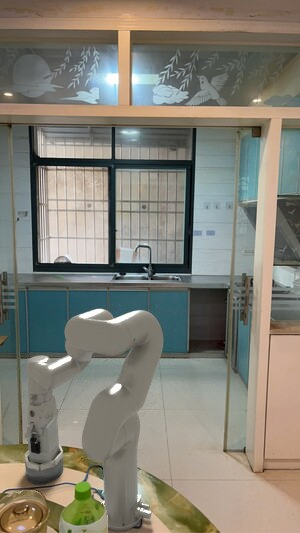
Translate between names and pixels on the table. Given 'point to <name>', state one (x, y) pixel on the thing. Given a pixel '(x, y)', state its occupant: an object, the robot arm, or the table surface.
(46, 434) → the supplement box
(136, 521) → the robot arm
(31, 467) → the bowl
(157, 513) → the table surface
